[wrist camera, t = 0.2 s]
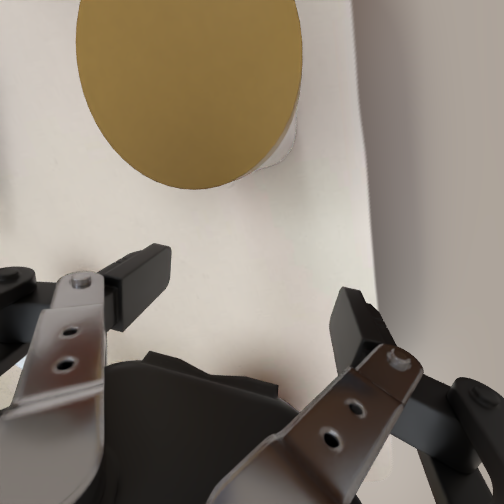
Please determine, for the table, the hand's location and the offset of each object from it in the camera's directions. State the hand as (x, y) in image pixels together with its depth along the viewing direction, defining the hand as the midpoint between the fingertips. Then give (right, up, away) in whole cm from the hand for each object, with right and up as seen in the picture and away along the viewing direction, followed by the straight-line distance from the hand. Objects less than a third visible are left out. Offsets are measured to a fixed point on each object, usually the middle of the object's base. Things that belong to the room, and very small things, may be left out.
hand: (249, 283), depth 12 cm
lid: (-2, +6, -5) cm, 8 cm away
